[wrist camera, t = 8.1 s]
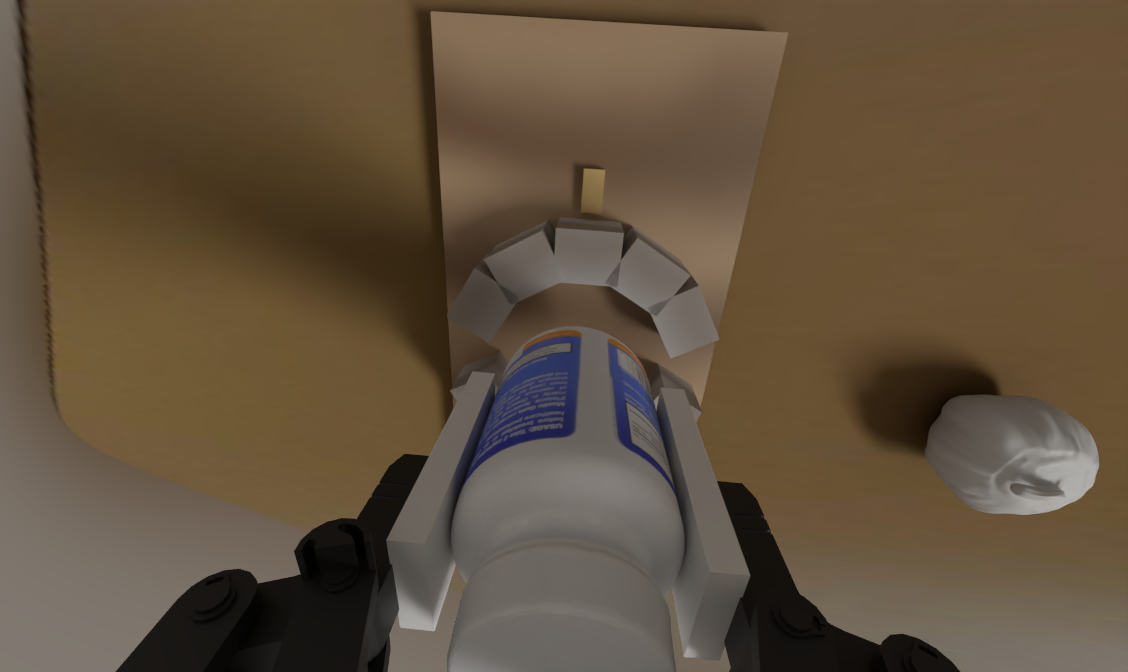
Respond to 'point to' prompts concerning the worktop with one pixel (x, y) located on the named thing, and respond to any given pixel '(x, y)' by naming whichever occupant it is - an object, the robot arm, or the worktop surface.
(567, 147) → the socket board
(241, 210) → the worktop surface
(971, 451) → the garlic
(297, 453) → the worktop surface
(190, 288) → the worktop surface
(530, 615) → the pill bottle
